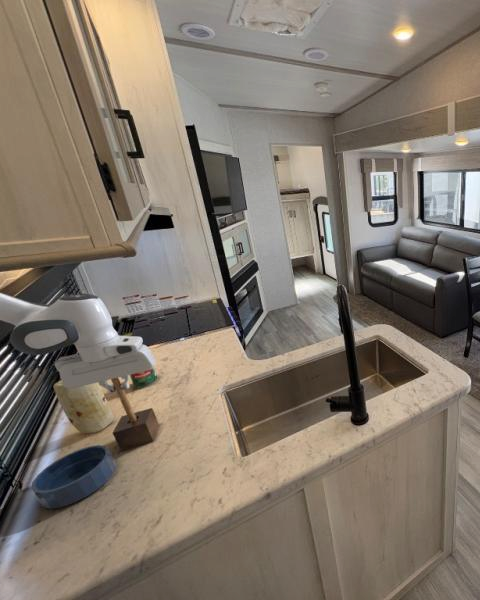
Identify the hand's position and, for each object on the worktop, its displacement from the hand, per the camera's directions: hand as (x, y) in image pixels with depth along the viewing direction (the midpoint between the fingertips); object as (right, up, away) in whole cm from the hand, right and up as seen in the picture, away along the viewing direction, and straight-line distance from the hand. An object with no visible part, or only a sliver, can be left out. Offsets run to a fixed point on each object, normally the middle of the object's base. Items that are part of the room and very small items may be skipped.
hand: (119, 389), depth 91 cm
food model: (-18, -16, +11) cm, 27 cm away
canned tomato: (-22, -8, +36) cm, 43 cm away
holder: (+1, -17, +6) cm, 18 cm away
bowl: (-2, -23, -9) cm, 24 cm away
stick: (+1, -17, +6) cm, 18 cm away
